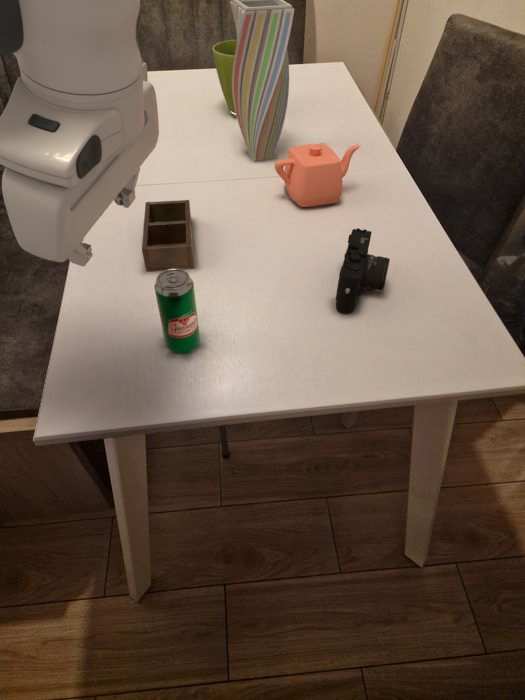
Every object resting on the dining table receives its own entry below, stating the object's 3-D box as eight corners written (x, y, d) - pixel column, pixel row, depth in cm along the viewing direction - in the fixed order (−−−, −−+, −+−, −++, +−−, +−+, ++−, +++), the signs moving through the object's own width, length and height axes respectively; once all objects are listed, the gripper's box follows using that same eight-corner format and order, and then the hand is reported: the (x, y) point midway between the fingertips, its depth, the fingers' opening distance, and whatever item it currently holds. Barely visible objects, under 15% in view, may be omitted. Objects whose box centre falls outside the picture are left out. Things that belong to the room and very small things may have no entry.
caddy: (146, 271, 83) (141, 249, 80) (149, 223, 93) (145, 202, 90) (193, 268, 84) (191, 246, 80) (191, 220, 94) (189, 199, 91)
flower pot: (205, 117, 130) (200, 49, 119) (236, 100, 139) (234, 35, 128) (252, 129, 125) (251, 59, 114) (281, 110, 134) (283, 44, 122)
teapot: (265, 187, 104) (266, 138, 96) (343, 177, 107) (350, 129, 100) (282, 214, 96) (284, 163, 88) (365, 202, 100) (374, 152, 92)
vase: (298, 163, 112) (307, 7, 90) (242, 172, 108) (239, 12, 87) (276, 140, 120) (281, -8, 99) (224, 147, 117) (217, -4, 96)
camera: (376, 323, 74) (386, 281, 68) (330, 314, 75) (336, 273, 70) (385, 269, 84) (395, 228, 78) (344, 262, 85) (351, 222, 79)
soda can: (172, 361, 68) (160, 295, 60) (161, 338, 71) (147, 273, 63) (205, 349, 70) (198, 283, 61) (192, 327, 73) (184, 262, 64)
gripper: (111, 35, 45) (122, 164, 56) (-30, 154, 33) (19, 287, 44) (175, 57, 44) (173, 182, 56) (56, 185, 33) (83, 310, 44)
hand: (104, 229), depth 50 cm, fingers open, 8 cm apart
